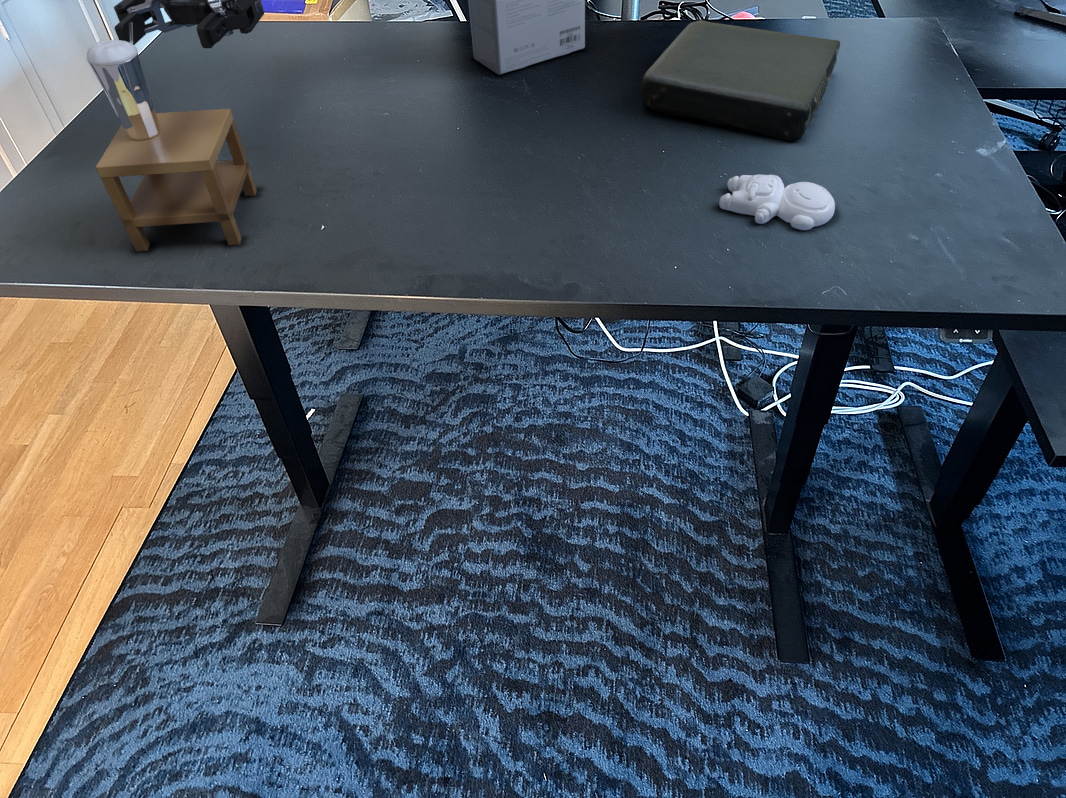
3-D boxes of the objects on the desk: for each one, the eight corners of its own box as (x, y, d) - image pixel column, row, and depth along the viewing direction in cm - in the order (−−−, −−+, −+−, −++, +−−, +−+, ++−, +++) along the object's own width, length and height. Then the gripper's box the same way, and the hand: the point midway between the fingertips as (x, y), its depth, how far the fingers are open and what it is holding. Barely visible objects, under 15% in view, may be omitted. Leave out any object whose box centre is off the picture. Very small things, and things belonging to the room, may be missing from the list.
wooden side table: (136, 251, 82) (94, 167, 75) (162, 196, 90) (127, 114, 83) (239, 244, 83) (208, 159, 76) (257, 190, 90) (230, 108, 83)
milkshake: (183, 126, 81) (146, 26, 73) (140, 147, 77) (97, 46, 70) (155, 115, 82) (116, 17, 75) (112, 136, 79) (67, 36, 72)
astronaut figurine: (734, 176, 89) (738, 152, 87) (839, 198, 86) (847, 174, 83) (711, 214, 84) (715, 190, 82) (823, 240, 80) (830, 215, 78)
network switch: (822, 147, 93) (832, 108, 90) (632, 123, 99) (635, 84, 95) (834, 67, 108) (843, 30, 105) (669, 50, 114) (672, 14, 110)
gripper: (151, -55, 86) (78, -2, 75) (273, -56, 85) (217, -1, 74) (175, 15, 92) (111, 74, 81) (291, 15, 91) (241, 76, 80)
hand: (162, 38), depth 77 cm, fingers open, 8 cm apart
